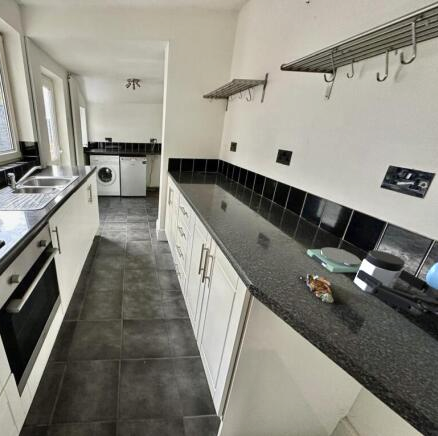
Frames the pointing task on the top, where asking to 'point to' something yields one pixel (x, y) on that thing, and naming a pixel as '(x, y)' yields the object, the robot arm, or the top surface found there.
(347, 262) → the weighing pan
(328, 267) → the kitchen scale
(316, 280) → the pastry
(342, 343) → the top surface
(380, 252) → the jar
